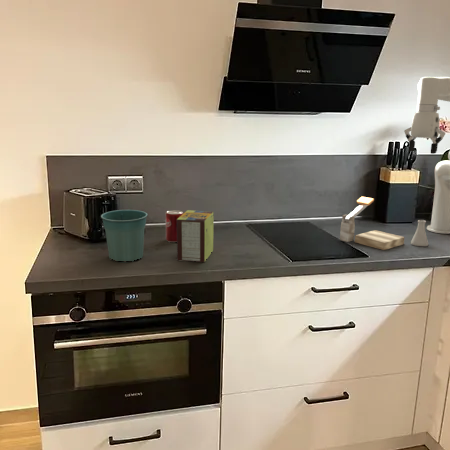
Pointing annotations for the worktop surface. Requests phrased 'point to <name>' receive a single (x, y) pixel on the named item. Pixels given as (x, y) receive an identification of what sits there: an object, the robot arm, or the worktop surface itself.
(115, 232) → the flower pot
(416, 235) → the flask
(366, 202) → the lever
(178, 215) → the soda can
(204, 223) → the protein box
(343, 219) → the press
